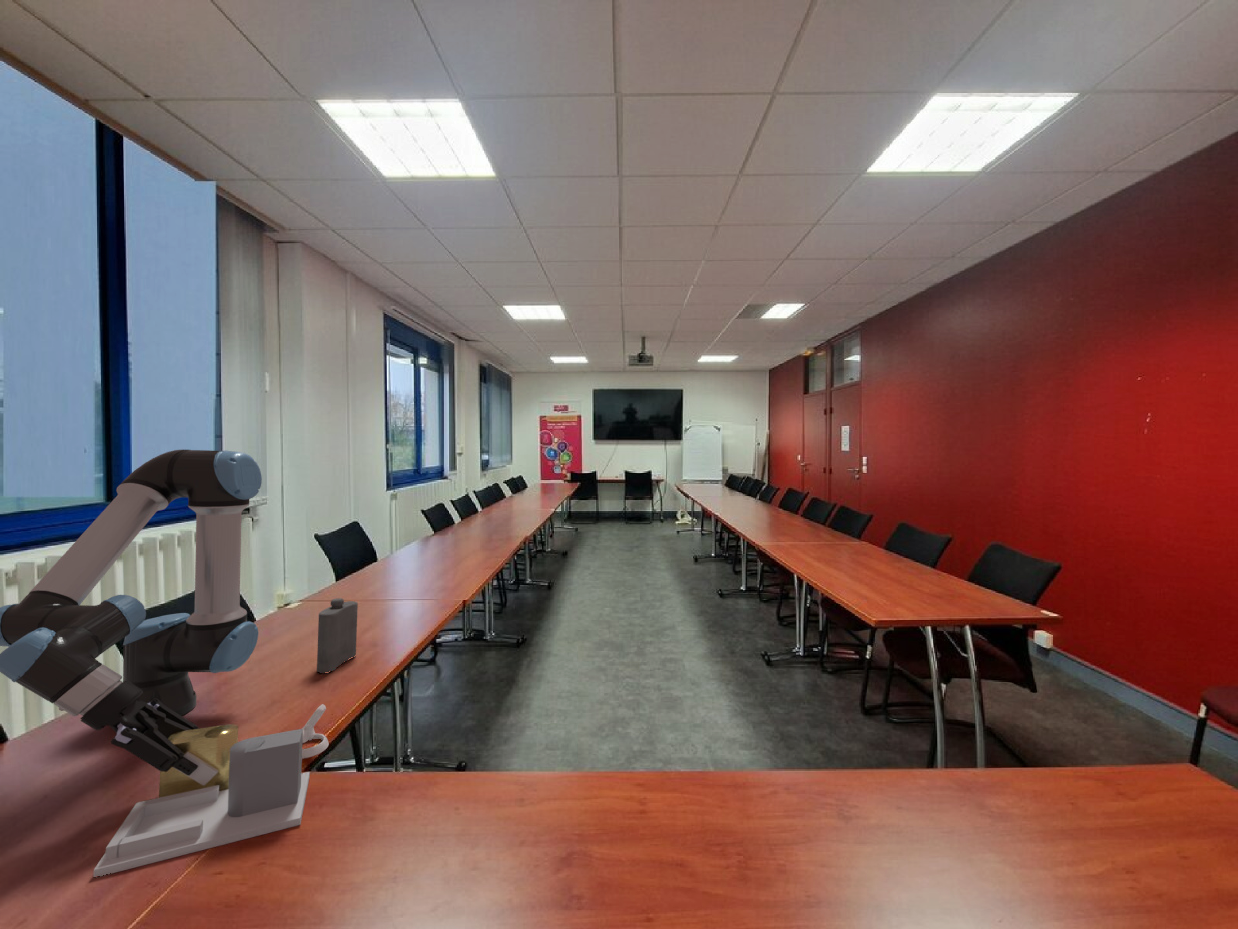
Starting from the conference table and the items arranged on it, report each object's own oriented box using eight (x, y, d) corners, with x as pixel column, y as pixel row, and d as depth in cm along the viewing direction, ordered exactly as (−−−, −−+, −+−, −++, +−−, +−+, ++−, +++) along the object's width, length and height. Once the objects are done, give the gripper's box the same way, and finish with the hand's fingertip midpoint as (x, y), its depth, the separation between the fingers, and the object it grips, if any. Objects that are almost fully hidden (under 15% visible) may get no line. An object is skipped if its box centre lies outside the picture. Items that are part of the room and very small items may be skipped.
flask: (341, 654, 158) (343, 592, 158) (359, 655, 158) (361, 593, 158) (309, 673, 143) (312, 605, 143) (328, 674, 143) (331, 606, 143)
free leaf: (158, 808, 87) (161, 746, 87) (169, 791, 91) (173, 732, 92) (230, 794, 91) (234, 735, 92) (238, 778, 96) (241, 722, 96)
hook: (337, 736, 102) (307, 720, 101) (306, 776, 104) (276, 761, 102) (353, 711, 110) (325, 696, 108) (324, 749, 111) (296, 734, 110)
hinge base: (93, 878, 72) (96, 796, 73) (134, 816, 85) (136, 746, 85) (300, 824, 84) (302, 754, 84) (309, 777, 97) (311, 716, 97)
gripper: (106, 695, 92) (212, 761, 99) (48, 742, 76) (180, 818, 83) (144, 662, 95) (245, 729, 102) (96, 701, 79) (220, 778, 86)
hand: (215, 769), depth 92 cm, fingers closed on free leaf, 5 cm apart
